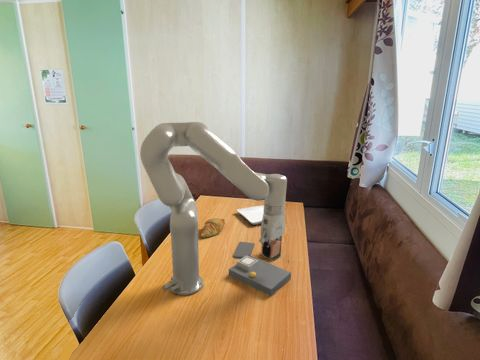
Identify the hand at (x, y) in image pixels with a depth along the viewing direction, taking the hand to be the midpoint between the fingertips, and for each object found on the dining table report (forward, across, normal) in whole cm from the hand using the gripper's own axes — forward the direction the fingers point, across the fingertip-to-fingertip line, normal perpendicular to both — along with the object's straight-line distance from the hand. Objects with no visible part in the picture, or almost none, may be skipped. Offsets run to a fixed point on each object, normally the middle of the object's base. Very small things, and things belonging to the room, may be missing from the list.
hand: (270, 252), depth 118 cm
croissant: (+13, +17, +46) cm, 51 cm away
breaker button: (+9, -1, +9) cm, 13 cm away
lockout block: (+1, 0, 0) cm, 1 cm away
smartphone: (+13, +12, +21) cm, 27 cm away
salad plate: (+12, +48, +38) cm, 62 cm away
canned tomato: (+12, +17, +9) cm, 23 cm away
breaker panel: (+12, -1, +3) cm, 12 cm away
